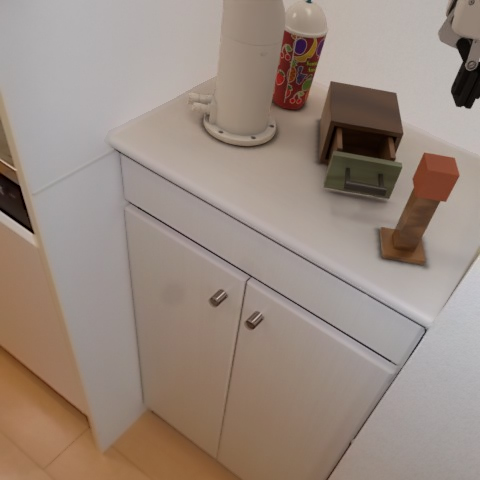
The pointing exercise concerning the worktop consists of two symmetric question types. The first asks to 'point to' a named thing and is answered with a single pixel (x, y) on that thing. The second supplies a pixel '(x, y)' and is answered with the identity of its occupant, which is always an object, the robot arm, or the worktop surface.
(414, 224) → the stand
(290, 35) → the smoothie
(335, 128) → the drawer
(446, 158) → the block
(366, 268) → the worktop surface
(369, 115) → the cabinet
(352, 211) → the worktop surface
